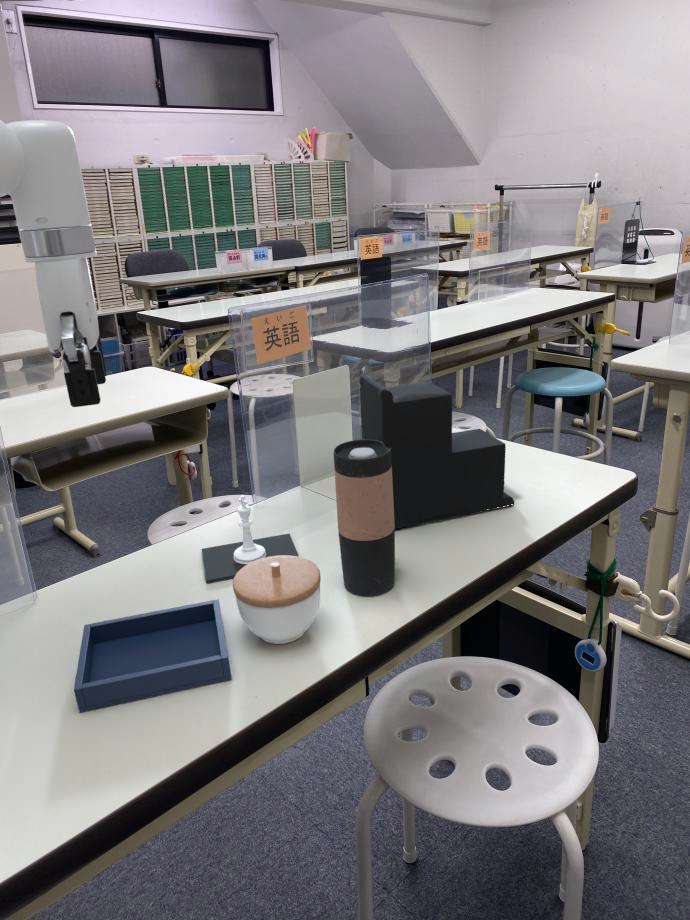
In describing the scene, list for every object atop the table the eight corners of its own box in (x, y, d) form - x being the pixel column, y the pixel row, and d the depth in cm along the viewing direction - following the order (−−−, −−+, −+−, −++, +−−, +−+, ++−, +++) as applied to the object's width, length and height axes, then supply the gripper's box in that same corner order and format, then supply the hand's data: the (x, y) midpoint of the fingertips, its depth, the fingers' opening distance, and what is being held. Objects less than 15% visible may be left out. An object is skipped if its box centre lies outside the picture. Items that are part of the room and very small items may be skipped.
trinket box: (291, 596, 94) (285, 535, 90) (342, 629, 86) (337, 563, 82) (223, 629, 87) (214, 565, 84) (271, 668, 80) (263, 599, 76)
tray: (79, 713, 74) (73, 690, 73) (89, 645, 86) (84, 624, 85) (231, 679, 78) (228, 657, 77) (221, 619, 89) (218, 598, 88)
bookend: (484, 483, 124) (486, 356, 116) (515, 506, 115) (520, 370, 106) (363, 507, 118) (355, 374, 110) (385, 533, 109) (379, 391, 100)
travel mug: (333, 593, 94) (323, 457, 86) (353, 565, 100) (345, 437, 93) (386, 601, 91) (380, 462, 84) (403, 572, 97) (399, 441, 90)
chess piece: (253, 544, 107) (246, 486, 103) (272, 555, 103) (265, 495, 100) (227, 556, 104) (218, 497, 100) (245, 568, 100) (237, 506, 97)
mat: (206, 583, 98) (206, 580, 98) (201, 551, 107) (201, 548, 107) (302, 565, 101) (301, 562, 101) (289, 536, 110) (289, 533, 110)
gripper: (35, 244, 83) (65, 381, 89) (8, 253, 67) (46, 419, 73) (100, 239, 84) (124, 374, 91) (88, 247, 69) (119, 409, 75)
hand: (89, 394), depth 82 cm, fingers open, 9 cm apart
